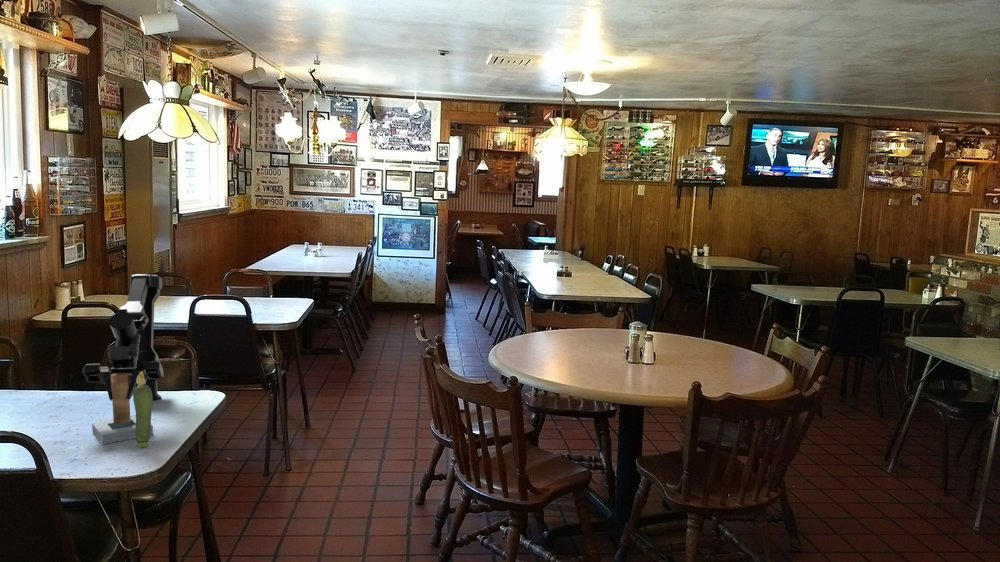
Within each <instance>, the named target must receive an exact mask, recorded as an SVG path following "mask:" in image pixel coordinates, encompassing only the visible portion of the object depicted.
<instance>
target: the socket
mask: <svg viewBox="0 0 1000 562" xmlns="http://www.w3.org/2000/svg"><path fill="white" fill-rule="evenodd" d="M130 420H131V421H130V422H128V423H125V424H114V420H113V419H109V420H108V419H107V420H104V421H97V422H96V421H95V422H92V423H91V429H92V433H93V434H94V436H95V437H96V438H97V439H98V440H100V441H101V442H100V441H99V442H100V443H101V444H102V445H103V444H104V445H107V443H109V444H111V443H110V442H114V443H117V442H116V441H119V442H122V441H121V440H124V441H127V440H126V439H129V440H132V439H131V438H134V439H136V433H135V425H136V414H135V415H130ZM152 434H153V435H154V425H153V424H151V431H150V436H153V435H152Z"/></svg>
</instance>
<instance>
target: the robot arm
mask: <svg viewBox="0 0 1000 562" xmlns="http://www.w3.org/2000/svg"><path fill="white" fill-rule="evenodd" d="M129 288H130V290H129V293H128V295H127V296H128V297H127V299H126V304H124V305H122V306H121V307H120V308H119V309H118V312H115V313H114V314H112V315H111V316H110V318H109V320H108V323H109V326H110V329H111V331H112V335H113V336H114V338H115V339H116V342H115V346H109V348H108V360H109V364H110V366H102V364H101V363H100V362H99V363H85V365H83V367H82V376H83V377H84V378H85V381H86V383H89V384H91V383H101V384H102V385H105V386H106V390H107V394H108V398H109V401H110V402H111V401H112V385H111V375H112V374H115V373H128V376H129V381H130V384H129V390H128V400H129V401H130V400H131V399H132V398H133V393H134V390H135V388H136V387H137V386H138V384H137V383H136V380H137V377H138V375H139V373H140V372H141V371H143V375H144V378H145V381H146V383H145V385H148V386H149V387H150V388H151V391H152V396H153V400H159V399H162V396H161V395H160V394H159V393H158V381H160V380H162V379H165V378H164V377H165V375H164V368H163V365H162V364H161V360H159V355H158V354H157V352H156V350H155V349H154V334H155V333H154V329H155V327H154V325H155V302H157V300H158V299H159V297H160V296H161V290H163V278H162V277H160V276H159V275H158V274H148V273H135V274H131V276H129ZM111 366H112V367H111Z"/></svg>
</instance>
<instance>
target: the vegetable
mask: <svg viewBox="0 0 1000 562" xmlns="http://www.w3.org/2000/svg"><path fill="white" fill-rule="evenodd" d="M136 383H137V384H138V386H137V387H136V388H135V390H134V393H133V396H132V399H133V403H134V404H133V405H134V410H135V415H136V425H135V433H136V438H135V441H136V443H137V445H138V448H139V449H141V448H146V447H147V446H148V443H149V442H150V438H151V435H150V431H151V425H152V410H153V405H154V404H153V396H152V391H151V388H150V387H149V386H148V385H145V383H146V381H145V378H144V375H143V371H141V372H140V373H139V375H138V377H137V380H136Z"/></svg>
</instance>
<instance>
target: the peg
mask: <svg viewBox="0 0 1000 562" xmlns="http://www.w3.org/2000/svg"><path fill="white" fill-rule="evenodd" d="M111 385H112V416H113V417H112V418H113V419H112V420H114V424H125V423H128V422H130V421H131V420H130V416H131V407H130V406H131V403H130V400H128V390H129V386H130V384H129V375H128V373H115V374H112V375H111Z"/></svg>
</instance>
